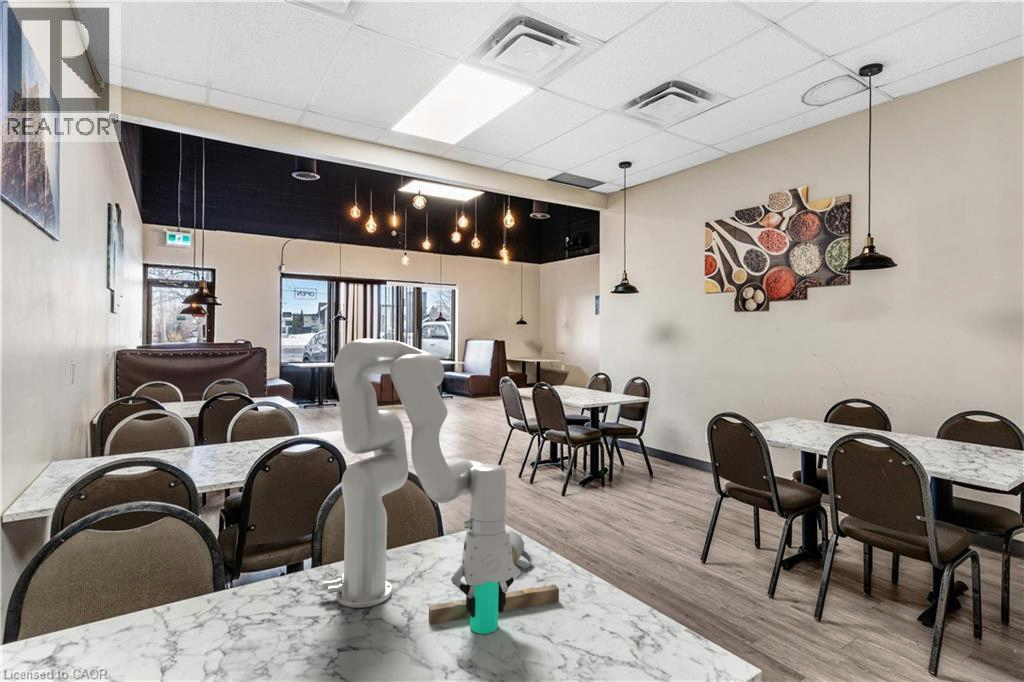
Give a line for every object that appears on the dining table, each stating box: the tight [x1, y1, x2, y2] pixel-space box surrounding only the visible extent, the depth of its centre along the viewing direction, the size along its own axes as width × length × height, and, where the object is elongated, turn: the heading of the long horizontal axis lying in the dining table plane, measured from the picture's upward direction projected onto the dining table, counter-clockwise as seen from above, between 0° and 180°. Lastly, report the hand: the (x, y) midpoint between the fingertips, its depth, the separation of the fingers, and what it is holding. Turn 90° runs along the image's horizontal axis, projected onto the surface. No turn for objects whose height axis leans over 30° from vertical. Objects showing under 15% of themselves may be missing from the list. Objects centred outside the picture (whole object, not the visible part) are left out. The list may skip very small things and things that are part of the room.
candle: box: [469, 581, 499, 635], centre depth 104 cm, size 6×6×12 cm
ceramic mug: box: [508, 530, 533, 569], centre depth 135 cm, size 11×8×8 cm
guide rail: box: [428, 584, 560, 625], centre depth 111 cm, size 30×2×3 cm, turn 111°
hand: (485, 610), depth 104 cm, fingers closed on candle, 5 cm apart
